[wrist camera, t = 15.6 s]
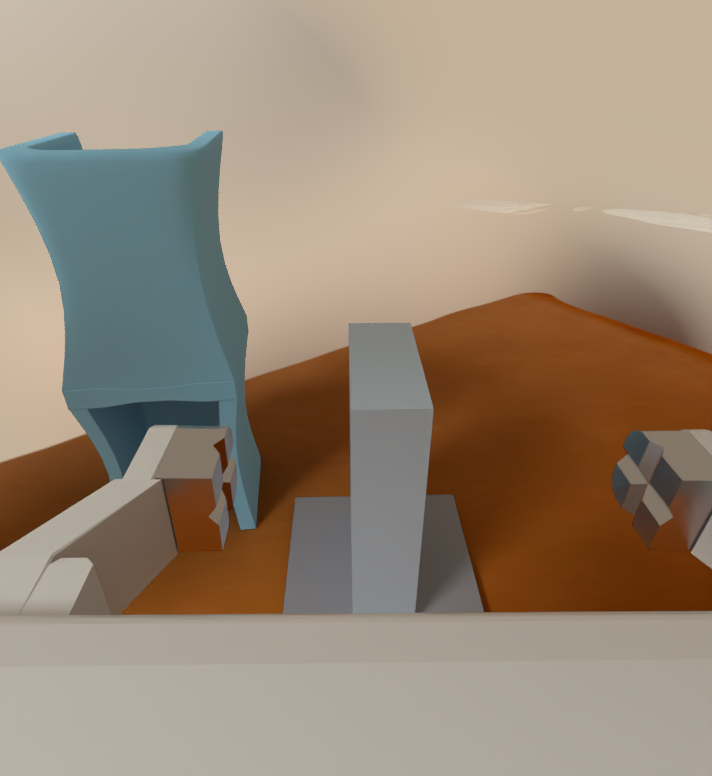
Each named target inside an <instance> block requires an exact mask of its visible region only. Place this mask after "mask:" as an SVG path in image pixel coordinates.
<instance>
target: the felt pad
mask: <svg viewBox="0 0 712 776" xmlns="http://www.w3.org/2000/svg"><path fill="white" fill-rule="evenodd" d="M454 612H484V610H483V606H482V602H481V598H480V594H479V591H478V587H477V583H476V579H475V575H474V572H473V568H472V564H471V560H470V557H469V553H468V549H467V545H466V541H465V538H464V534H463V530H462V526H461V522H460V519H459V515H458V511H457V507H456V503H455V500H454V496H453V494H452V495H426V499H425V509H424V520H423V531H422V542H421V553H420V564H419V575H418V586H417V597H416V608H415V613H454ZM311 613H353V601H352V551H351V496H345V497H295V506H294V515H293V525H292V534H291V543H290V552H289V562H288V571H287V580H286V590H285V599H284V608H283V614H311Z"/></svg>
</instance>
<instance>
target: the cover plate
mask: <svg viewBox="0 0 712 776" xmlns="http://www.w3.org/2000/svg"><path fill="white" fill-rule="evenodd" d="M349 398H350V492H351V551H352V601H353V613H415V608H416V597H417V586H418V575H419V564H420V553H421V542H422V531H423V520H424V509H425V499H426V488H427V477H428V466H429V455H430V444H431V433H432V422H433V411H434V408H433V404H432V401H431V397H430V393H429V390H428V386H427V382H426V378H425V375H424V371H423V367H422V364H421V360H420V356H419V353H418V349H417V345H416V342H415V338H414V334H413V331H412V327H411V324H410V323H360V324H359V323H358V324H349Z"/></svg>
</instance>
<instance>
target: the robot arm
mask: <svg viewBox="0 0 712 776" xmlns="http://www.w3.org/2000/svg"><path fill="white" fill-rule="evenodd" d="M233 444H234V442H233V436H232V430H231V428H230V427H222V426H187V425H180V426H177V425H154V426H152V427H150V428H149V430H148V431H147V433H146V435H145V437H144V439H143V441H142V443H141V445H140V447H139V449H138V451H137V452H136V454H135V456H134V458H133V460H132V462H131V464H130V466H129V468H128V470H127V472H126V474H125V475H124V477H123V479H114V480H113V481H111V482H110V483H108V484H106V485H105V486H103V487H102V488H100V489H98V490H97V491H95V492H94V493H92V494H90V495H89V496H87V497H86V498H84V499H83V500H81V501H79V502H78V503H76V504H75V505H73V506H71V507H70V508H68V509H67V510H65V511H63V512H62V513H60V514H59V515H57V516H56V517H54V518H52V519H51V520H49V521H48V522H46V523H44V524H43V525H41V526H40V527H38V528H36V529H35V530H33V531H32V532H30V533H29V534H27V535H25V536H24V537H22V538H21V539H19V540H17V541H16V542H14V543H13V544H11V545H9V546H8V547H6V548H5V549H3V550H1V551H0V776H712V611H597V612H454V613H311V614H165V615H119V614H120V613H121V612H122V611H123V610H124V609H125V608H126V607H127V606H128V605H129V604H130V603H131V602H132V601H133V600H134V599H135V598H136V597H137V596H138V595H139V594H140V593H141V592H142V591H143V590H144V589H145V588H146V586H147V585H148V584H149V583H150V582H151V581H152V580H153V579H154V578H155V577H156V576H157V575H158V574H159V573H160V572H161V571H162V570H163V569H164V568H165V567H166V566H167V565H168V564H169V563H170V562H171V561H172V560H173V559H174V558H175V557H176V556H177V555H178V553H177V552H188V551H223V548H224V544H225V539H226V535H227V531H228V527H229V518H228V511H229V510H230V509H231V508H233V506H234V501H235V497H236V487H237V468H236V461H235V460H234V459H233V458H232V457H231V452H232V448H233ZM623 447H624V449H625V451H626V453H627V455H626V456H625V457H624V458H622V459H621V460H620V461H619V462H617V463H616V466H615V469H614V472H613V475H612V483H613V491H614V494H615V498H616V499H617V501H618V503H619V504H620V506H621V508H623V509H624V510H626V511H627V512H629V513H631V514H632V515H634V518H633V522H632V525H633V527H634V528H635V530H636V531H637V533H638V534H639V536H640V537H641V539H642V541H643V542H644V544H645V545H646V547H647V548H648V550H674V551H691V553H692V554H693V555H694V556H695V557H697V558H698V559H699V560H701V561H702V562H703V563H704V564H706V565H707V566H708V567H710V568H711V569H712V432H711V431H709V430H707V429H697V430H681V431H634V430H633V431H632V432H631V433H630V434H629V435H628V436H627V438H626V441H625V443H624V445H623Z"/></svg>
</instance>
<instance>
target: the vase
mask: <svg viewBox="0 0 712 776" xmlns="http://www.w3.org/2000/svg"><path fill="white" fill-rule="evenodd" d="M222 140H223V132H222V131H206V132H205V133H203V134H202V135H201V136H199V137H198V138H196V139H195V140H194V141H192V142H191V143H189V144H187V145H181V146H171V147H160V148H145V149H144V148H143V149H105V150H83V149H82V146H81V144H80V141H79V139H78V136H77V135H76V133H58V134H54V135H51V136H47V137H43V138H40V139H36V140H32V141H29V142H25V143H21V144H17V145H14V146H10V147H6V148H3V149H0V161H1V162H2V164H3V166H4V168H5V169H6V171H7V173H8V175H9V176H10V178H11V179H12V181H13V183H14V185H15V187H16V188H17V190H18V192H19V193H20V195H21V197H22V199H23V201H24V202H25V204H26V206H27V208H28V210H29V212H30V214H31V215H32V217H33V219H34V221H35V223H36V225H37V227H38V229H39V232H40V234H41V236H42V238H43V240H44V243H45V245H46V247H47V249H48V252H49V254H50V257H51V260H52V263H53V266H54V269H55V272H56V275H57V278H58V281H59V284H60V290H61V296H62V302H63V308H64V321H65V360H64V372H63V386H62V392H63V395H64V397H65V400H66V403H67V406H68V409H69V410H70V411H71V412H72V414H73V415H74V416H75V418H76V419H77V421H78V422H79V423H80V425H81V426H82V427H83V429H84V430H85V432H86V433H87V435H88V436H89V438H90V439H91V441H92V442H93V444H94V445H95V447H96V449H97V451H98V452H99V454H100V456H101V458H102V460H103V463H104V465H105V467H106V470H107V472H108V475H109V479H110V482H111V481H113V480H114V479H123V477H124V475H125V474H126V472H127V470H128V468H129V466H130V464H131V462H132V460H133V458H134V456H135V454H136V452H137V451H138V449H139V447H140V445H141V443H142V441H143V439H144V437H145V435H146V433H147V431H148V430H149V428H150V427H152V426H154V425H177V426H180V425H187V426H222V427H230V428H231V430H232V436H233V442H234V444H233V448H232V452H231V457H232V458H233V459H234V460H235V461H236V468H237V487H236V497H235V501H234V509H235V512H236V515H237V519H238V522H239V526H240V529H241V530H244V529H256V522H257V509H258V495H259V481H260V467H261V458H260V453H259V451H258V448H257V445H256V443H255V440H254V437H253V434H252V431H251V428H250V424H249V420H248V416H247V410H246V404H245V389H244V383H245V374H244V373H245V357H246V347H247V337H248V324H247V316H246V313H245V311H244V310H243V307H242V305H241V303H240V301H239V299H238V297H237V295H236V292H235V290H234V287H233V285H232V283H231V280H230V277H229V274H228V271H227V268H226V265H225V262H224V257H223V253H222V248H221V243H220V235H219V222H218V189H219V174H220V161H221V151H222Z"/></svg>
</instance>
